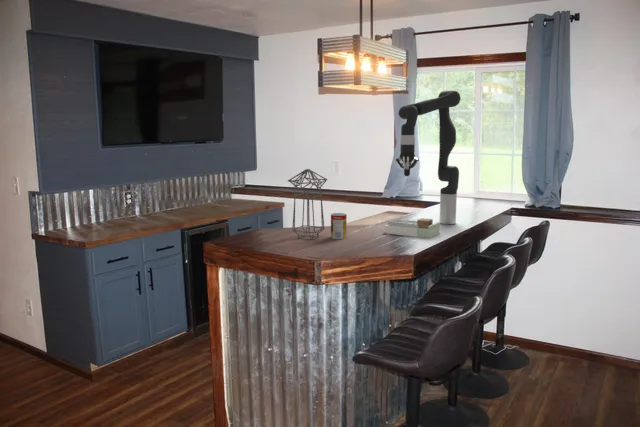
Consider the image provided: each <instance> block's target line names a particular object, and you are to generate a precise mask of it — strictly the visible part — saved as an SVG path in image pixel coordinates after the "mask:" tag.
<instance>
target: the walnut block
mask: <svg viewBox="0 0 640 427" xmlns="http://www.w3.org/2000/svg"><path fill="white" fill-rule="evenodd" d="M416 221H417V224H419V228H426V229H428V226H430V225H432V224H434V223H433V219H432V218H418V219H416Z"/></svg>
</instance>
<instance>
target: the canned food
mask: <svg viewBox="0 0 640 427" xmlns="http://www.w3.org/2000/svg"><path fill="white" fill-rule="evenodd" d="M347 219H348V218H347V213H343V212H335V213H330V238H331V239H333V240H344V239H346V238H347V223H348V222H347Z"/></svg>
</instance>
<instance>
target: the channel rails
mask: <svg viewBox="0 0 640 427" xmlns="http://www.w3.org/2000/svg"><path fill="white" fill-rule="evenodd" d="M387 225H391V226H400V227H410V228H419V224H417V220H409V219H403V218H402V219H401V218H395V221H387Z"/></svg>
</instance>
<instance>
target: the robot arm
mask: <svg viewBox="0 0 640 427" xmlns="http://www.w3.org/2000/svg"><path fill="white" fill-rule="evenodd" d="M460 102H461V94H460V93H459V91H458V90H456V89H455V90H454V89H453V90H452V89H451V90H442V91H440V92H439V94H438V96H437V97H435V98H428V99H424V100H421V101H418V102H415V103H411V104H407V105H403V106H401V107H400V108H399V110H398V116H399V118H400V119H401V120H402V119H403V120H406V122H405V123H404V124H402V125H401V128H400V129H401V130H400V135H401V136H400V150H399V151H400V154H399V157H397V158H395V161H396V163H398V166H400V168H401V169H403V175H404V177H409V176H411V169H414V167H415V166H416V165H417V164H418V162H419V161H420V159H419V158H417V157H416V155H415V148H416V147H415V144H416V140H415V139H416V137H415V134H416V133H415V129H416V126H417V125H416V124H417V121H418V118H419V117H418V116H422V115H426V114H429V113H431V112H434V111H437V110H438V117H439V118H438V119H439V120H438V121H439V122H438V123H439V131H438V132H439V135H438V136H439V138H438V140H439V153H438V154H439V156H438V166H437V167H438V168H437V177H438V180H439V181H441V182H446V183H447V185H446V186H444V187H441V188H440V192H439V194H440V195H439V200H440V201H439V204H440V205H439V221H438V222H440V224H443V225H455V224H456V221H457V197H458V196H457V195H458V189H459V182H460V181H459V179H460V170H459V168H458V167H457V166H456V165H448V163H449V162H448V161H449V156H450V154H451V153H452V152H453V149H454V147H455V146H456V143H457V129H456V127H455V124H454V123H453V121H452V118H451V115H450V108H453V107H454V108H455V107H456V106H458V105H459V104H460Z"/></svg>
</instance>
